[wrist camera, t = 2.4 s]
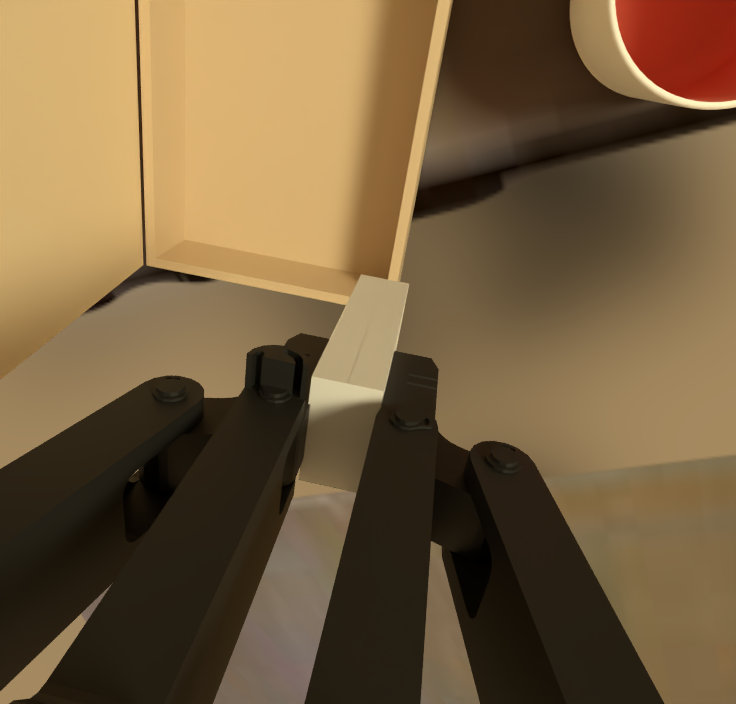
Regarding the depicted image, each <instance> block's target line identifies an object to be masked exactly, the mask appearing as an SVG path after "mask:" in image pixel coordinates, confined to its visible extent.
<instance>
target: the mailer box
mask: <svg viewBox="0 0 736 704" xmlns="http://www.w3.org/2000/svg"><path fill="white" fill-rule="evenodd" d="M138 5H139V38H140V70H141V103H142V135H143V168H144V200H145V233H146V265H147V266H152V267H157V268H162V269H167V270H172V271H177V272H182V273H187V274H192V275H197V276H202V277H207V278H213V279H218V280H223V281H228V282H233V283H238V284H243V285H248V286H253V287H258V288H263V289H268V290H273V291H278V292H283V293H288V294H293V295H298V296H303V297H309V298H313V299H318V300H323V301H328V302H333V303H338V304H344V305H347V303H348V300H349V298H350V296H351V294H352V292H353V290H354V288H355V286H356V284H357V282H358V280H359V278H360V276H361V274H362V275H367V276H372V277H377V278H382V279H387V280H392V281H397V282H400V278H401V273H402V268H403V262H404V257H405V252H406V247H407V241H408V236H409V231H410V226H411V220H412V215H413V210H414V205H415V199H416V194H417V189H418V184H419V178H420V173H421V168H422V163H423V157H424V152H425V147H426V142H427V136H428V131H429V126H430V121H431V115H432V110H433V105H434V100H435V94H436V89H437V84H438V79H439V73H440V68H441V63H442V58H443V52H444V47H445V42H446V37H447V31H448V26H449V21H450V16H451V10H452V5H453V0H138Z"/></svg>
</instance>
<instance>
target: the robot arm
mask: <svg viewBox="0 0 736 704" xmlns="http://www.w3.org/2000/svg"><path fill="white" fill-rule="evenodd" d="M408 287H409V284H407V283H402V282H397V281H392V280H387V279H382V278H377V277H372V276H367V275H362V274H361V276H360V278H359V280H358V282H357V284H356V286H355V288H354V290H353V292H352V294H351V296H350V298H349V300H348V303H347V305H346V307H345V309H344V311H343V313H342V315H341V317H340V319H339V321H338V323H337V325H336V327H335V329H334V331H333V333H332V336H331V338H330V339H327V338H322V337H317V336H312V335H307V334H302V333H300V334H299V335H296V336H294V337H293V338H291V339H289V340H288V341H287V342H286V344H285V345H284V346H280V345H267V346H261V347H257V348H254V349H252V350H251V351H250V352H248V353H247V359H246V375H245V388H244V389H243V391H242V392H241V394H240V395H239V397H233V398H204V389H203V387H202V386H201V385H200V384H199V383H198V382H196V381H194V380H192V379H189V378H185V377H181V376H163V377H158V378H153V379H151V380H149V381H146V382H144V383H143V384H141V385H139V386H137V387H136V388H134V389H132V390H131V391H129V392H128V393H126V394H124V395H122V396H121V397H119V398H118V399H116V400H114V401H112V402H111V403H109V404H108V405H106V406H104V407H102V408H101V409H99V410H97V411H96V412H94V413H92V414H91V415H89V416H88V417H86V418H84V419H83V420H81V421H79V422H78V423H76V424H74V425H73V426H71V427H69V428H68V429H66V430H64V431H63V432H61V433H60V434H58V435H56V436H54V437H53V438H51V439H49V440H48V441H46V442H44V443H43V444H41V445H39V446H38V447H36V448H34V449H33V450H31V451H29V452H28V453H26V454H24V455H23V456H21V457H19V458H18V459H16V460H14V461H13V462H11V463H10V464H8V465H6V466H5V467H3V468H1V469H0V691H1V690H2V689H3V688H4V687H5V686H6V685H7V684H8V683H9V682H10V681H11V680H12V679H14V677H16V676H17V674H19V673H20V672H21V671H22V670H23V669H24V668H25V667H26V666H27V665H28V664H29V663H30V662H31V661H32V660H33V659H34V658H35V657H36V656H37V655H38V654H39V653H40V652H42V651H43V649H45V648H46V647H47V646H48V645H49V644H50V643H51V642H52V641H53V640H54V639H55V638H56V637H57V636H58V635H59V634H60V633H61V632H62V631H63V630H64V629H65V628H66V627H67V626H69V625H70V623H72V622H73V621H74V620H75V619H76V618H77V617H78V616H79V615H80V614H81V613H82V612H83V611H84V610H85V609H86V608H87V607H88V606H89V605H90V604H91V603H92V602H93V601H94V600H95V599H97V598H98V597H99V596H100V595H101V594H102V593H103V592H104V591H105V590H106V589H107V588H108V587H109V586H110V585H111V584H112V583H113V584H112V585H111V587H110V588H109V590H108V591H107V593H106V594H105V596H104V597H103V599H102V600H101V602H100V603H99V604H98V606H97V607H96V609H95V610H94V612H93V613H92V615H91V616H90V618H89V619H88V621H87V622H86V624H85V625H84V627H83V628H82V630H81V631H80V633H79V634H78V636H77V637H76V639H75V640H74V642H73V643H72V645H71V646H70V648H69V649H68V650H67V652H66V653H65V655H64V656H63V658H62V659H61V661H60V663H59V664H58V665H57V667H56V668H55V670H54V671H53V673H52V674H51V676H50V677H49V679H48V680H47V682H46V683H45V684H44V685H43V687H42V688H41V689H40V691H39V692H38V693H37V694H35V695H34V696H33V697H32V698H30V699H23V700H14V701H12V702H11V703H10V704H213V702H214V699H215V696H216V694H217V691H218V689H219V686H220V684H221V681H222V678H223V676H224V673H225V671H226V668H227V665H228V663H229V660H230V658H231V655H232V653H233V650H234V647H235V645H236V642H237V640H238V637H239V635H240V632H241V629H242V627H243V624H244V622H245V619H246V616H247V614H248V611H249V609H250V606H251V604H252V601H253V598H254V596H255V593H256V591H257V588H258V585H259V583H260V580H261V578H262V575H263V573H264V570H265V567H266V565H267V562H268V560H269V557H270V554H271V552H272V549H273V547H274V544H275V542H276V539H277V536H278V534H279V531H280V529H281V526H282V524H283V521H284V518H285V516H286V513H287V511H288V508H289V505H290V503H291V500H292V498H293V495H294V487H295V478H296V475H297V473H298V470H299V468H300V474H299V480H302V481H306V482H311V483H315V484H320V485H324V486H329V487H334V488H338V489H342V490H347V491H352V492H356V493H357V494H356V498H355V502H354V506H353V510H352V514H351V518H350V522H349V526H348V530H347V534H346V538H345V542H344V546H343V550H342V554H341V558H340V563H339V567H338V571H337V575H336V579H335V583H334V587H333V591H332V595H331V599H330V603H329V607H328V611H327V615H326V619H325V623H324V627H323V631H322V635H321V639H320V643H319V647H318V651H317V655H316V659H315V663H314V667H313V671H312V675H311V679H310V683H309V687H308V691H307V696H306V700H305V704H420V700H421V685H422V669H423V654H424V638H425V623H426V607H427V592H428V576H429V561H430V546H431V541H433V542H435V543H437V544H439V545H441V546H442V559H443V562H444V566H445V570H446V574H447V578H448V582H449V586H450V589H451V593H452V597H453V601H454V605H455V609H456V612H457V616H458V620H459V624H460V628H461V632H462V635H463V639H464V643H465V647H466V651H467V655H468V658H469V662H470V666H471V670H472V674H473V678H474V681H475V685H476V689H477V693H478V697H479V701H480V704H664V702H663V700H662V698H661V697H660V695H659V693H658V691H657V689H656V687H655V685H654V684H653V682H652V680H651V678H650V676H649V674H648V673H647V671H646V669H645V667H644V665H643V663H642V661H641V660H640V658H639V656H638V654H637V652H636V650H635V648H634V647H633V645H632V643H631V641H630V639H629V637H628V635H627V634H626V632H625V630H624V628H623V626H622V624H621V623H620V621H619V619H618V617H617V615H616V613H615V611H614V610H613V608H612V606H611V604H610V602H609V600H608V598H607V597H606V595H605V593H604V591H603V589H602V587H601V586H600V584H599V582H598V580H597V578H596V576H595V574H594V573H593V571H592V569H591V567H590V565H589V563H588V561H587V560H586V558H585V556H584V554H583V552H582V550H581V549H580V547H579V545H578V543H577V541H576V539H575V537H574V536H573V534H572V532H571V530H570V528H569V526H568V524H567V523H566V521H565V519H564V517H563V515H562V513H561V512H560V510H559V508H558V506H557V504H556V502H555V500H554V499H553V497H552V495H551V493H550V491H549V489H548V487H547V486H546V484H545V482H544V480H543V478H542V476H541V475H540V473H539V471H538V469H537V467H536V465H535V463H534V462H533V461H532V460H531V459H530V457H529V456H528V455H527V454H525V453H524V452H522V451H521V450H520V449H518V448H516V447H514V446H512V445H509V444H506V443H501V442H496V441H485V442H480V443H478V444H476V445H474V446H473V448H472V449H471V451H468V450H465V449H463V448H460V447H458V446H456V445H455V444H453V443H451V442H449V441H448V440H447V439H445V438H444V437H443V436H442V435H441V434H440V433H439V432H438V426H437V422H436V420H435V411H436V397H437V383H438V382H437V381H438V368H437V366H436V365H435V363H434V362H433V360H432V359H431V358H427V357H422V356H417V355H412V354H407V353H402V352H397V351H396V347H397V343H398V338H399V333H400V327H401V322H402V318H403V312H404V307H405V302H406V297H407V292H408ZM300 465H301V466H300ZM138 469H139V471H137V470H138ZM136 471H137V472H136ZM135 472H136V473H135ZM134 473H135V474H134ZM133 474H134V475H133Z"/></svg>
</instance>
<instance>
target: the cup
mask: <svg viewBox="0 0 736 704" xmlns="http://www.w3.org/2000/svg"><path fill="white" fill-rule="evenodd" d="M570 25H571V32H572V37H573V40H574V44H575V47H576V49H577V52H578V54H579V56H580V58H581V60H582V61H583V63H584V65H585V66H586V68H587V69H588V70H589V71H590V73H591V74H592V75H593V76H594V77H595V78H596V79H597V80H598V81H599V82H601V83H602V84H603V85H605V86H606V87H608V88H609V89H611V90H613V91H615V92H617V93H619V94H622V95H625V96H628V97H633V98H638V99H643V100H648V101H654V102H659V103H665V104H670V105H676V106H682V107H687V108H693V109H703V110H717V109H727V108H733V107H736V0H570Z"/></svg>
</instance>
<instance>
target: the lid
mask: <svg viewBox="0 0 736 704" xmlns="http://www.w3.org/2000/svg"><path fill="white" fill-rule="evenodd" d="M141 266H143V238H142V208H141V178H140V148H139V118H138V89H137V59H136V29H135V0H0V379H2V378H3V377H4V376H5V375H7V374H8V373H9V372H10V371H12V370H13V369H14V368H15V367H17V366H18V365H19V364H20V363H22V362H23V361H24V360H25V359H27V358H28V357H29V356H30V355H32V354H33V353H34V352H35V351H37V350H38V349H39V348H40V347H42V346H43V345H44V344H45V343H47V342H48V341H49V340H50V339H51V338H53V337H54V336H55V335H57V334H58V333H59V332H60V331H61V330H63V329H64V328H65V327H67V326H68V325H69V324H70V323H71V322H73V321H74V320H75V319H77V318H78V317H79V316H80V315H82V314H83V313H84V312H85V311H87V310H88V309H89V308H90V307H91V306H93V305H94V304H95V303H96V302H98V301H99V300H100V299H101V298H103V297H104V296H105V295H106V294H108V293H109V292H110V291H111V290H113V289H114V288H115V287H116V286H118V285H119V284H120V283H121V282H123V281H124V280H125V279H126V278H128V277H129V276H130V275H131V274H133V273H134V272H135V271H136V270H138V269H139V268H140V267H141Z"/></svg>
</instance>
